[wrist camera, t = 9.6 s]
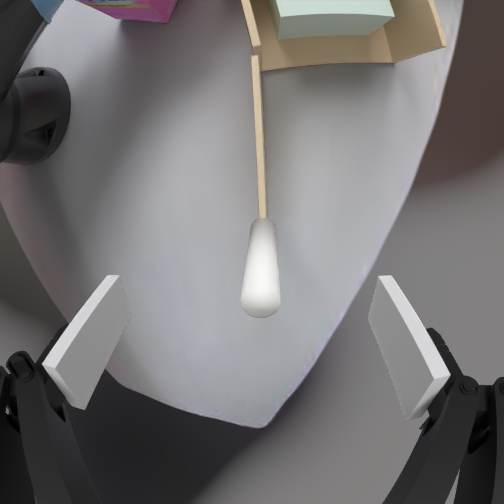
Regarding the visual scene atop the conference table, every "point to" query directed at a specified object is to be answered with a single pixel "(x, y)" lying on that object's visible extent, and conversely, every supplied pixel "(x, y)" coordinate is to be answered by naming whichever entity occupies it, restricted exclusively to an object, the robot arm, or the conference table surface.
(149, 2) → the gum box
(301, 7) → the carton
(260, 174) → the front flap
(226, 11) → the conference table surface
